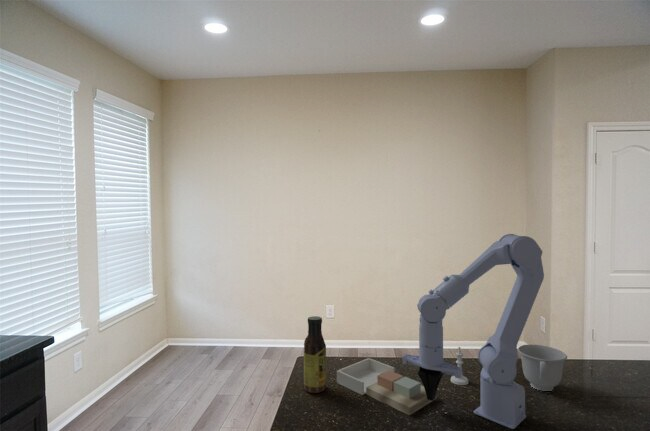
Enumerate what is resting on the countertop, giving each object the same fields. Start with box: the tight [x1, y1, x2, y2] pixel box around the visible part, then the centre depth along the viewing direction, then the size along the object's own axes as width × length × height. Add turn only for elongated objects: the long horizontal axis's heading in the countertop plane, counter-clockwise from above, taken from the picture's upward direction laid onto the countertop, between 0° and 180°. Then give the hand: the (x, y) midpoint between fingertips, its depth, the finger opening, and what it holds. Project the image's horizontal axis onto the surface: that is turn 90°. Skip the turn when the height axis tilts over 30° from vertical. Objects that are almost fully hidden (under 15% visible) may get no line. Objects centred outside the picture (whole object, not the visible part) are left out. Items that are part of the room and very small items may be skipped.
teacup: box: [517, 344, 568, 392], centre depth 103 cm, size 12×15×10 cm
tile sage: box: [394, 376, 422, 399], centre depth 98 cm, size 5×5×2 cm
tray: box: [336, 357, 395, 396], centre depth 109 cm, size 10×14×4 cm
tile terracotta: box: [377, 370, 404, 391], centre depth 102 cm, size 5×5×2 cm
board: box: [366, 382, 437, 416], centre depth 100 cm, size 14×12×2 cm
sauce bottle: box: [303, 315, 327, 394], centre depth 104 cm, size 7×6×20 cm
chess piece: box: [450, 346, 469, 386], centre depth 109 cm, size 5×5×10 cm
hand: (431, 398), depth 93 cm, fingers closed
